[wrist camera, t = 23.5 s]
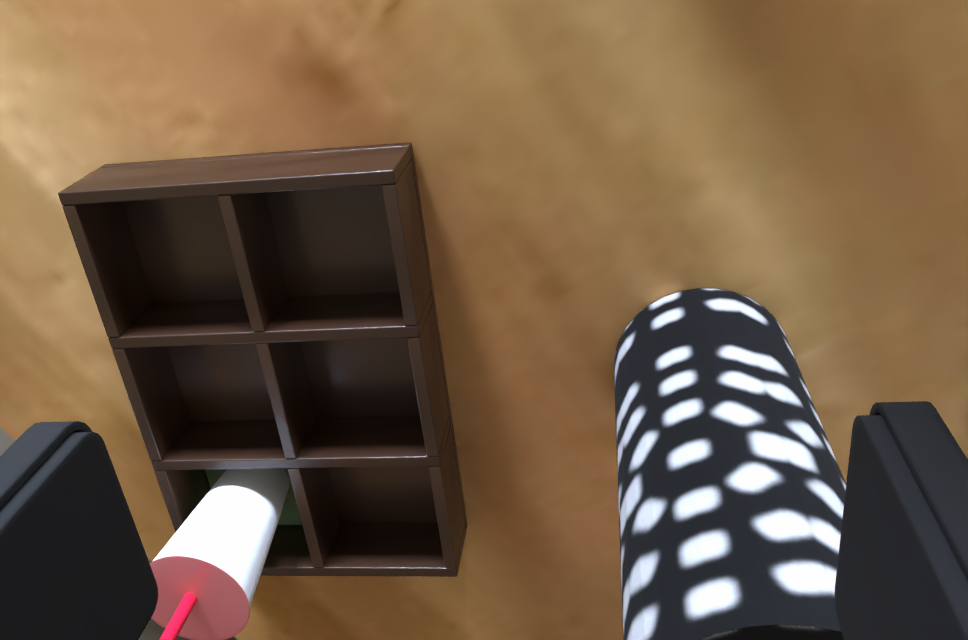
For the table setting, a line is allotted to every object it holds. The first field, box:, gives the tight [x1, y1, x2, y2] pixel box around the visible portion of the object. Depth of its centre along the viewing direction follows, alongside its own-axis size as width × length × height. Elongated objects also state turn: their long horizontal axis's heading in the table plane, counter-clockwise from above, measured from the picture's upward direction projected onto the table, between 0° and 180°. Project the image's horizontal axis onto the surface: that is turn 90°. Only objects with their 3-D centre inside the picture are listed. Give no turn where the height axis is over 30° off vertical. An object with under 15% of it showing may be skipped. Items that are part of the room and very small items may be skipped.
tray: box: [58, 143, 467, 577], centre depth 42 cm, size 22×15×4 cm
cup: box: [150, 468, 289, 640], centre depth 42 cm, size 5×5×12 cm
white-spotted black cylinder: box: [614, 288, 846, 640], centre depth 33 cm, size 8×8×20 cm
